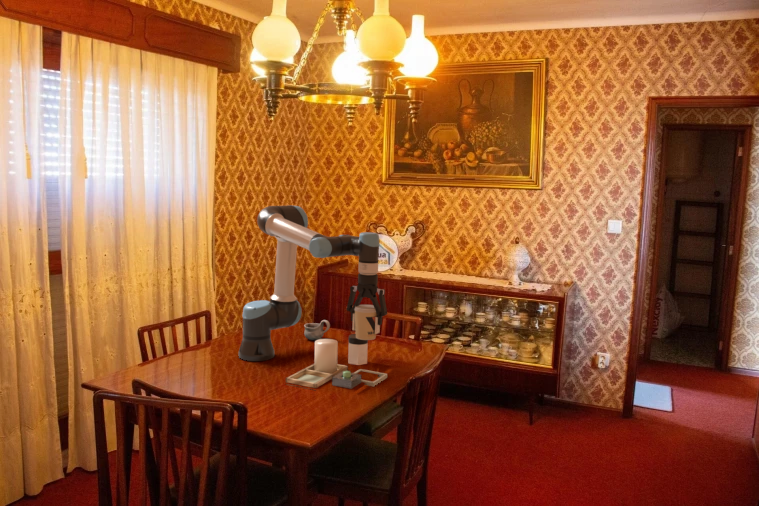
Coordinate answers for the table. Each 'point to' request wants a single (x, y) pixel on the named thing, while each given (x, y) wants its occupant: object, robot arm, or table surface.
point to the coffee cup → (365, 322)
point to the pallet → (313, 377)
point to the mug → (315, 330)
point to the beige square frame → (370, 383)
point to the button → (346, 374)
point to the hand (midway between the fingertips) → (365, 331)
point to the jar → (357, 350)
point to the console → (346, 380)
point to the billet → (326, 355)
